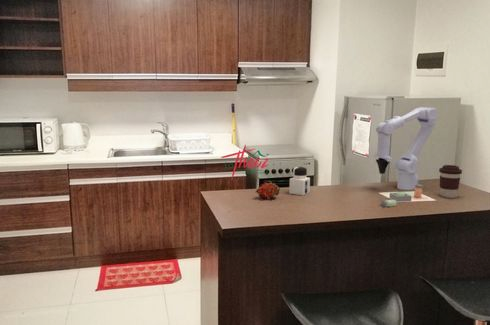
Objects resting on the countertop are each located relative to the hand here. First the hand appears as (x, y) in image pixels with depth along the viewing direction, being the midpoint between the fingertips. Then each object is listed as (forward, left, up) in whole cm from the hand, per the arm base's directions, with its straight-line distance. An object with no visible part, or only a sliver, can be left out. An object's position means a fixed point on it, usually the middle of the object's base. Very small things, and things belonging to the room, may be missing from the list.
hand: (382, 173), depth 216 cm
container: (+42, -3, -10) cm, 43 cm away
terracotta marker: (-10, +17, -8) cm, 21 cm away
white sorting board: (-6, +14, -9) cm, 18 cm away
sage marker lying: (+10, +28, -9) cm, 31 cm away
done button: (0, +19, -8) cm, 21 cm away
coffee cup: (-28, +14, -10) cm, 33 cm away
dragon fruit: (+60, +5, -10) cm, 61 cm away
